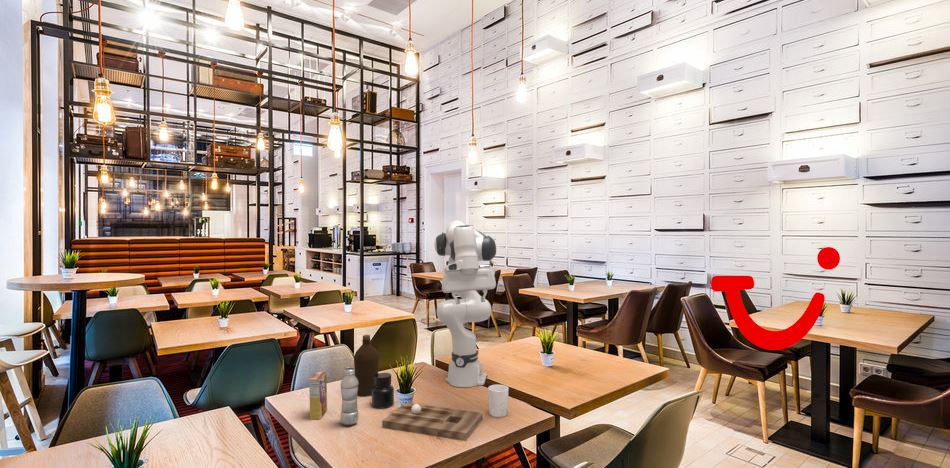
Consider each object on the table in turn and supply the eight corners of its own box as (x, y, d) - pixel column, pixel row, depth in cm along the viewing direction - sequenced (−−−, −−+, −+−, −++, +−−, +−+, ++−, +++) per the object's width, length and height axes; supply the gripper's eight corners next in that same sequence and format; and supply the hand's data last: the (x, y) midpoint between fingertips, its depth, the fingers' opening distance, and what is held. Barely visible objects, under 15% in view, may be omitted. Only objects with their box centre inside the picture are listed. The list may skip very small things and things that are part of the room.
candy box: (316, 410, 176) (316, 371, 176) (327, 410, 176) (327, 371, 176) (308, 419, 167) (308, 378, 167) (320, 419, 167) (320, 378, 167)
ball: (414, 411, 168) (414, 402, 168) (422, 412, 167) (422, 403, 167) (409, 415, 164) (409, 405, 164) (418, 416, 163) (418, 406, 163)
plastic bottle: (352, 418, 168) (352, 365, 168) (362, 423, 163) (362, 369, 163) (336, 423, 163) (336, 368, 163) (346, 429, 158) (345, 372, 158)
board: (382, 427, 160) (382, 417, 160) (405, 408, 177) (405, 399, 177) (466, 440, 149) (466, 429, 149) (482, 419, 166) (482, 409, 166)
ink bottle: (392, 399, 187) (392, 370, 187) (396, 407, 179) (396, 377, 179) (369, 402, 184) (369, 373, 184) (372, 410, 176) (372, 379, 176)
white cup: (507, 418, 167) (507, 392, 167) (486, 417, 169) (486, 390, 169) (509, 410, 175) (509, 385, 175) (489, 409, 176) (489, 383, 176)
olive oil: (378, 396, 191) (378, 337, 191) (352, 397, 189) (352, 338, 189) (379, 387, 201) (379, 332, 201) (355, 389, 200) (355, 333, 200)
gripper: (492, 265, 173) (496, 301, 170) (440, 269, 170) (442, 306, 167) (495, 262, 167) (499, 299, 164) (441, 266, 164) (444, 304, 161)
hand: (470, 303), depth 165 cm, fingers open, 8 cm apart
